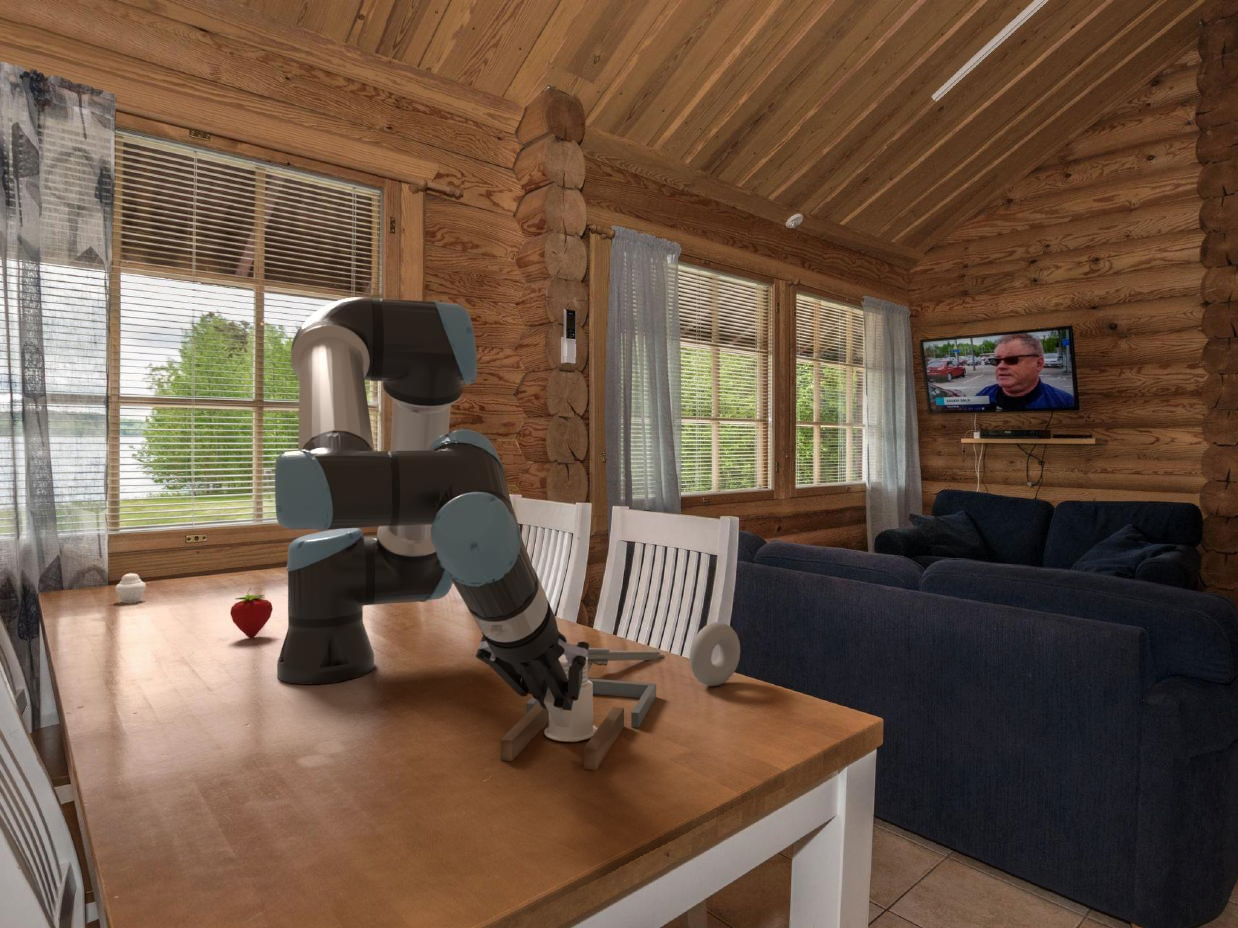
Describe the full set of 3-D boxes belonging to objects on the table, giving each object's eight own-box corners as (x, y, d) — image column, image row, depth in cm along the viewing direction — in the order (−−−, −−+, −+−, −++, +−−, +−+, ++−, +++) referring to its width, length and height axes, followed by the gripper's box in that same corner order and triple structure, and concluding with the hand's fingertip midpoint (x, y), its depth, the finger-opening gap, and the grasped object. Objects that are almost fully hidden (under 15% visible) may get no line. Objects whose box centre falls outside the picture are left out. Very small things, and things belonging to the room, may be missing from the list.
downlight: (603, 742, 97) (602, 663, 97) (548, 747, 95) (547, 667, 95) (591, 722, 105) (590, 649, 105) (540, 726, 103) (540, 652, 103)
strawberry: (276, 637, 148) (275, 586, 148) (234, 644, 143) (233, 591, 143) (269, 631, 152) (268, 582, 152) (227, 637, 148) (226, 586, 147)
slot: (500, 759, 92) (500, 739, 92) (539, 718, 105) (539, 700, 105) (596, 770, 89) (596, 749, 89) (624, 726, 102) (624, 707, 102)
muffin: (123, 605, 176) (122, 575, 176) (110, 602, 179) (109, 573, 179) (151, 601, 181) (150, 571, 181) (138, 598, 185) (138, 569, 184)
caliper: (575, 683, 121) (575, 644, 121) (571, 681, 122) (571, 642, 122) (664, 658, 135) (664, 623, 135) (660, 656, 136) (660, 622, 136)
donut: (700, 694, 115) (700, 629, 115) (684, 689, 118) (684, 625, 117) (744, 681, 121) (745, 619, 121) (728, 676, 124) (729, 615, 124)
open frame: (526, 717, 106) (526, 702, 106) (555, 688, 118) (555, 675, 118) (638, 727, 102) (638, 712, 102) (656, 696, 114) (656, 683, 114)
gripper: (444, 641, 77) (507, 740, 94) (566, 650, 74) (609, 750, 91) (466, 580, 82) (523, 684, 99) (581, 586, 79) (620, 692, 96)
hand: (564, 716), depth 95 cm, fingers closed
